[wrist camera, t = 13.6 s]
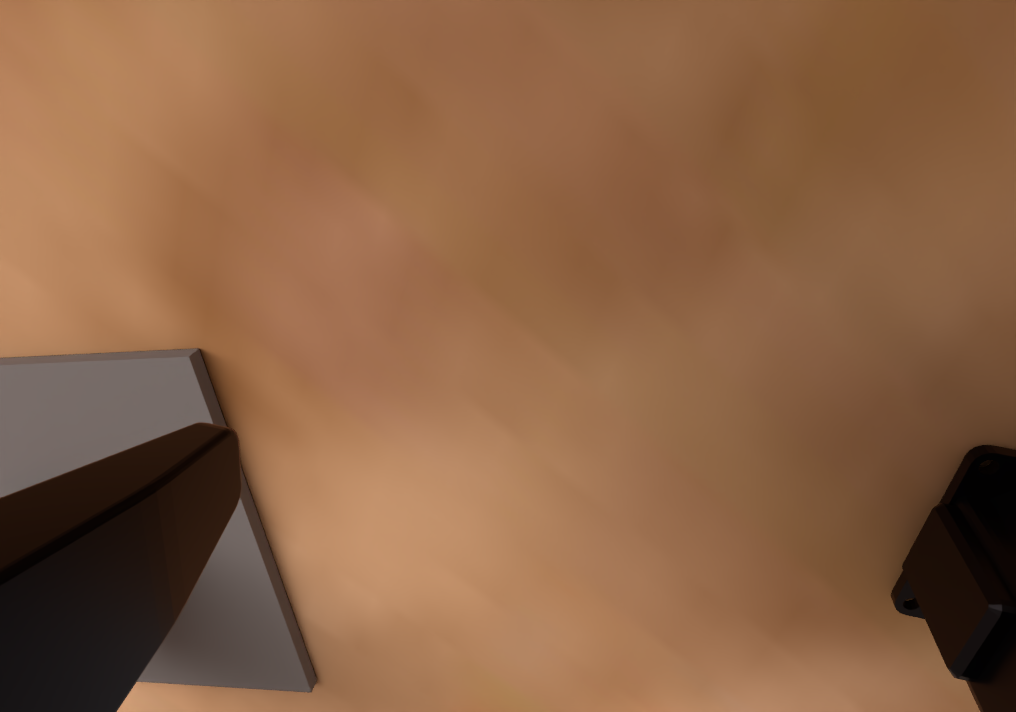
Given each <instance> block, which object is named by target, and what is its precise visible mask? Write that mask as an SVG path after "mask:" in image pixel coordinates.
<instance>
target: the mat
mask: <svg viewBox="0 0 1016 712" xmlns="http://www.w3.org/2000/svg"><path fill="white" fill-rule="evenodd" d="M199 422H204V423H210V424H215V425H220V426H224V427H227V426H226V423H225V420H224V418H223V415H222V412H221V409H220V406H219V404H218V401H217V398H216V395H215V392H214V390H213V387H212V384H211V381H210V378H209V376H208V373H207V370H206V367H205V364H204V362H203V359H202V356H201V353H200V350H199V349H179V350H158V351H137V352H116V353H96V354H75V355H54V356H33V357H12V358H0V498H1V497H4V496H6V495H9V494H11V493H14V492H17V491H19V490H22V489H24V488H27V487H30V486H32V485H35V484H38V483H40V482H43V481H45V480H48V479H51V478H53V477H56V476H59V475H61V474H64V473H66V472H69V471H72V470H74V469H77V468H80V467H82V466H85V465H87V464H90V463H93V462H95V461H98V460H100V459H103V458H106V457H108V456H111V455H114V454H116V453H119V452H121V451H124V450H127V449H129V448H132V447H134V446H137V445H140V444H142V443H145V442H148V441H150V440H153V439H155V438H158V437H161V436H163V435H166V434H168V433H171V432H174V431H176V430H179V429H182V428H184V427H187V426H189V425H192V424H195V423H199ZM241 481H242V489H241V495H240V499H239V502H238V505H237V507H236V509H235V511H234V513H233V515H232V517H231V519H230V521H229V522H228V524H227V526H226V528H225V530H224V532H223V534H222V536H221V538H220V540H219V542H218V543H217V545H216V547H215V549H214V551H213V553H212V555H211V557H210V559H209V561H208V562H207V564H206V566H205V568H204V570H203V572H202V574H201V576H200V578H199V580H198V582H197V583H196V585H195V587H194V589H193V591H192V593H191V595H190V597H189V599H188V601H187V603H186V604H185V606H184V608H183V610H182V611H181V613H180V615H179V617H178V619H177V620H176V622H175V624H174V625H173V627H172V629H171V630H170V632H169V633H168V635H167V636H166V638H165V640H164V641H163V643H162V644H161V646H160V647H159V649H158V650H157V652H156V653H155V655H154V656H153V658H152V659H151V661H150V662H149V664H148V665H147V667H146V668H145V670H144V671H143V673H142V674H141V676H140V677H139V679H138V680H137V682H153V683H168V684H184V685H200V686H216V687H232V688H248V689H264V690H280V691H296V692H312V690H313V688H314V686H315V684H316V682H317V679H316V676H315V673H314V670H313V668H312V665H311V662H310V659H309V656H308V654H307V651H306V648H305V645H304V642H303V640H302V637H301V634H300V631H299V628H298V625H297V623H296V620H295V617H294V614H293V611H292V609H291V606H290V603H289V600H288V597H287V595H286V592H285V589H284V586H283V583H282V581H281V578H280V575H279V572H278V569H277V567H276V564H275V561H274V558H273V555H272V552H271V550H270V547H269V544H268V541H267V538H266V536H265V533H264V530H263V527H262V524H261V522H260V519H259V516H258V513H257V510H256V508H255V505H254V502H253V499H252V496H251V494H250V491H249V488H248V485H247V482H246V479H245V477H244V474H243V471H242V468H241Z"/></svg>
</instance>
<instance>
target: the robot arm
mask: <svg viewBox="0 0 1016 712" xmlns="http://www.w3.org/2000/svg"><path fill="white" fill-rule="evenodd" d="M987 460H992V462H991V463H990V464H989V465H987V466H984V467H979V466H980V465H981V464H982V463H983V462H985V461H987ZM241 489H242V481H241V465H240V450H239V439H238V436H237V433H236V432H235V431H234V430H233V429H232V428H229V427H224V426H220V425H215V424H210V423H204V422H199V423H195V424H192V425H189V426H187V427H184V428H182V429H179V430H176V431H174V432H171V433H168V434H166V435H163V436H161V437H158V438H155V439H153V440H150V441H148V442H145V443H142V444H140V445H137V446H134V447H132V448H129V449H127V450H124V451H121V452H119V453H116V454H114V455H111V456H108V457H106V458H103V459H100V460H98V461H95V462H93V463H90V464H87V465H85V466H82V467H80V468H77V469H74V470H72V471H69V472H66V473H64V474H61V475H59V476H56V477H53V478H51V479H48V480H45V481H43V482H40V483H38V484H35V485H32V486H30V487H27V488H24V489H22V490H19V491H17V492H14V493H11V494H9V495H6V496H4V497H1V498H0V712H117V710H118V709H119V707H120V706H121V704H122V703H123V701H124V700H125V698H126V697H127V695H128V694H129V692H130V691H131V689H132V688H133V686H134V685H135V683H136V682H137V680H138V679H139V677H140V676H141V674H142V673H143V671H144V670H145V668H146V667H147V665H148V664H149V662H150V661H151V659H152V658H153V656H154V655H155V653H156V652H157V650H158V649H159V647H160V646H161V644H162V643H163V641H164V640H165V638H166V636H167V635H168V633H169V632H170V630H171V629H172V627H173V625H174V624H175V622H176V620H177V619H178V617H179V615H180V613H181V611H182V610H183V608H184V606H185V604H186V603H187V601H188V599H189V597H190V595H191V593H192V591H193V589H194V587H195V585H196V583H197V582H198V580H199V578H200V576H201V574H202V572H203V570H204V568H205V566H206V564H207V562H208V561H209V559H210V557H211V555H212V553H213V551H214V549H215V547H216V545H217V543H218V542H219V540H220V538H221V536H222V534H223V532H224V530H225V528H226V526H227V524H228V522H229V521H230V519H231V517H232V515H233V513H234V511H235V509H236V507H237V505H238V502H239V499H240V495H241ZM902 568H903V572H902V573H901V575H900V577H899V579H898V581H897V583H896V585H895V586H894V588H893V590H892V593H891V598H892V601H893V603H894V605H895V608H896V610H897V611H899V612H900V613H902V614H905V615H908V616H913V617H918V618H922V619H925V620H926V622H927V624H928V626H929V628H930V631H931V633H932V635H933V637H934V640H935V642H936V644H937V646H938V648H939V651H940V653H941V655H942V657H943V659H944V662H945V664H946V666H947V668H948V669H949V671H950V672H951V674H952V675H953V677H954V678H958V679H962V680H966V682H967V684H968V686H969V688H970V690H971V693H972V695H973V697H974V699H975V701H976V703H977V705H978V707H979V710H980V712H1016V450H1012V449H1007V448H1002V447H997V446H992V445H982V446H978V447H975V448H973V449H972V450H970V451H969V452H968V453H967V454H966V455H965V457H964V459H963V461H962V463H961V464H960V466H959V468H958V470H957V472H956V474H955V475H954V477H953V479H952V481H951V483H950V485H949V487H948V488H947V490H946V492H945V494H944V496H943V498H942V500H941V501H940V503H939V504H938V505H937V506H936V507H934V508H933V509H932V511H931V513H930V515H929V517H928V518H927V520H926V522H925V524H924V526H923V528H922V530H921V531H920V533H919V535H918V537H917V539H916V541H915V543H914V544H913V546H912V548H911V550H910V552H909V554H908V556H907V557H906V559H905V561H904V563H903V565H902ZM909 598H914V599H912V600H906V599H909Z"/></svg>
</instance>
